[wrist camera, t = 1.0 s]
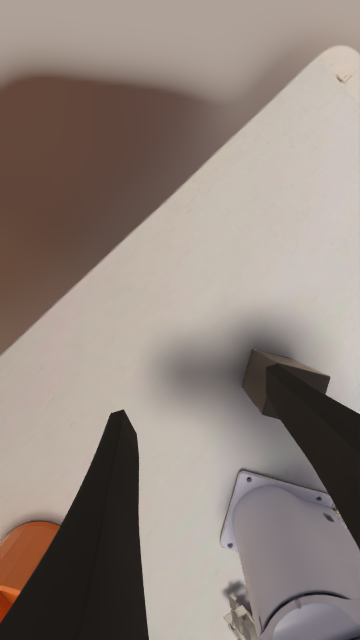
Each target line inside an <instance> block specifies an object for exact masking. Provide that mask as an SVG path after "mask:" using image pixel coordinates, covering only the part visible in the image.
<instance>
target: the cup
mask: <svg viewBox="0 0 360 640" xmlns="http://www.w3.org/2000/svg"><path fill="white" fill-rule="evenodd" d="M59 528H60V526H59V525H56V524H53V523H49V522H42V521H36V522H29V523H26V524H22V525H20V526H18V527H16V528H15V529H13V530H12V531H11V532H9V533H8V534H7V535H6V536H5V538H4V539H3V540H1V542H0V622H1V621H2V619H3V618H4V617H5V615H6V614H7V612H8V611H9V609H10V608H11V606H12V605H13V603H14V601H15V600H16V598H17V597H18V595H19V594H20V592H21V590H22V589H23V587H24V586H25V584H26V583H27V581H28V579H29V578H30V576H31V575H32V573H33V572H34V570H35V568H36V567H37V565H38V564H39V562H40V560H41V559H42V557H43V555H44V554H45V552H46V550H47V549H48V547H49V545H50V543H51V542H52V540H53V538H54V536H55V535H56V533H57V531H58V529H59Z"/></svg>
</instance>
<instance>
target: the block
mask: <svg viewBox="0 0 360 640" xmlns="http://www.w3.org/2000/svg"><path fill="white" fill-rule="evenodd" d="M274 364H279V365H281V366H282V367H284V368H285V369H286V370H288V371H289V372H291V373H292V374H294V375H295V376H297V377H298V378H300V379H301V380H303V381H304V382H306V383H308V384H309V385H311V386H312V387H314V388H315V389H317V390H319V391H320V392H322V393H324V394H326V390H327V387H328V384H329V380H330V376H328V375H326V374H323V373H321V372H319V371H317V370H314V369H312V368H310V367H308V366H305V365H303V364H301V363H299V362H296V361H294V360H292V359H289V358H285V357H281V356H278V355H274V354H270V353H266V352H263V351H259V350H255V349H252V352H251V356H250V359H249V363H248V366H247V370H246V373H245V377H244V381H243V384H242V388H243V389H244V391H245V392H246V393H247V395H248V396H249V398H250V399H251V400H252V402H253V403H254V404H255V406H256V407H257V408H258V410H259V411H260V412H261V414H262V415H266V416H269V417H273V418H277V419H280V418H279V417H278V415H277V414H276V412H275V410H274V409H273V407H272V405H271V403H270V401H269V400H268V398H267V396H266V367H267V366H271V365H274Z"/></svg>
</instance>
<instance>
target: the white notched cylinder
mask: <svg viewBox="0 0 360 640" xmlns="http://www.w3.org/2000/svg"><path fill="white" fill-rule="evenodd" d="M228 595H229V602H230V607H231V608H232V610H233V611H232V610H231V612H230V613H228V614H227V615H225V616H224V619H225V621H226V622H227V623H228V626H229V628H230V629H231V631H232V632H233V634H234V635H235V636H236V638H237V640H254V639H256V638H258V637H257V633H256V628H255V624H254V619H253V616H252V615H251V614H250V613H249V611H248V610H246V609H245V607H244V606H243V605H241V606H239V604H238V603H237V602H235V601H234V600H233V598H232V597H231V595H230V594H228ZM246 613H247V614H246ZM231 622H233V625H234V627H235V629H234V628H233V627H232V625H231V624H230V623H231Z"/></svg>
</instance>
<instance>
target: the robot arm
mask: <svg viewBox="0 0 360 640" xmlns="http://www.w3.org/2000/svg"><path fill="white" fill-rule="evenodd" d="M266 396H267V398H268V400H269V401H270V403H271V405H272V407H273V409H274V410H275V412H276V414H277V415H278V417H279V418H280V420H281V421H282V423H283V424H284V426H285V427H286V428H287V430H288V431H289V433H290V434H291V436H292V437H293V438H294V440H295V441H296V443H297V444H298V446H299V447H300V448H301V450H302V451H303V453H304V454H305V456H306V457H307V458H308V460H309V462H310V463H311V465H312V466H313V468H314V469H315V471H316V473H317V475H318V476H319V478H320V480H321V481H322V483H323V485H324V486H325V488H326V490H327V492H328V493H329V494H326V493H322V492H318V491H315V490H311V489H308V488H304V487H300V486H297V485H293V484H290V483H286V482H282V481H279V480H275V479H272V478H268V477H264V476H261V475H257V474H254V473H250V472H246V471H241V472H240V473H239V474H238V478H237V481H236V485H235V488H234V492H233V495H232V499H231V502H230V506H229V509H228V513H227V516H226V520H225V523H224V527H223V530H222V534H221V537H220V545H221V547H222V548H225V549H228V550H232V551H235V552H239V555H240V560H241V564H242V569H243V574H244V578H245V583H246V587H247V592H248V596H249V601H250V605H251V610H252V615H253V619H254V624H255V628H256V633H257V637H258V638H256V639H254V640H360V414H359V413H357V412H355V411H353V410H351V409H349V408H348V407H346V406H344V405H342V404H340V403H339V402H337V401H335V400H333V399H332V398H330V397H328V396H327V395H325V394H324V393H322V392H320V391H319V390H317V389H315V388H314V387H312V386H311V385H309V384H308V383H306V382H304V381H303V380H301V379H300V378H298V377H297V376H295V375H294V374H292V373H291V372H289V371H288V370H286V369H285V368H284V367H282V366H281V365H279V364H274V365H271V366H267V367H266ZM248 477H251V478H250V479H247V478H248ZM318 496H319V497H318ZM317 497H318V498H317ZM333 503H334V504H335V506H336V508H337V509H338V511H339V513H340V515H341V517H342V518H343V520H344V522H345V524H346V526H347V528H348V530H349V531H350V533H351V534H350V533H349V531H348V530H347V529H346V527H345V526H344V525H343V523H342V522H341V521H340V519H339V518H338V517H337V515H336V514H335V512H334V511H333V510H332V506H333ZM138 505H139V452H138V442H137V434H136V432H135V430H134V428H133V426H132V424H131V422H130V420H129V419H128V417H127V415H126V413H125V411H124V410H120V411H117V412H114V413H111V414H110V416H109V419H108V422H107V424H106V427H105V430H104V433H103V435H102V438H101V441H100V443H99V446H98V448H97V451H96V453H95V455H94V458H93V460H92V463H91V465H90V467H89V470H88V472H87V474H86V476H85V478H84V480H83V483H82V485H81V487H80V489H79V491H78V493H77V495H76V497H75V499H74V501H73V503H72V505H71V507H70V509H69V511H68V513H67V515H66V517H65V518H64V520H63V522H62V524H61V526H60V528H59V529H58V531H57V533H56V535H55V536H54V538H53V540H52V542H51V543H50V545H49V547H48V549H47V550H46V552H45V554H44V555H43V557H42V559H41V560H40V562H39V564H38V565H37V567H36V568H35V570H34V572H33V573H32V575H31V576H30V578H29V579H28V581H27V583H26V584H25V586H24V587H23V589H22V590H21V592H20V594H19V595H18V597H17V598H16V600H15V601H14V603H13V605H12V606H11V608H10V609H9V611H8V612H7V614H6V615H5V617H4V618H3V619H2V621H1V622H0V640H149V636H148V627H147V618H146V608H145V597H144V587H143V576H142V564H141V551H140V537H139V516H138ZM229 543H231V544H229Z"/></svg>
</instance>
